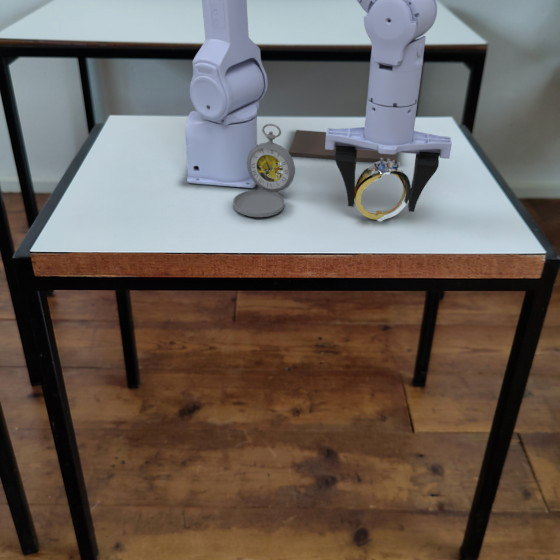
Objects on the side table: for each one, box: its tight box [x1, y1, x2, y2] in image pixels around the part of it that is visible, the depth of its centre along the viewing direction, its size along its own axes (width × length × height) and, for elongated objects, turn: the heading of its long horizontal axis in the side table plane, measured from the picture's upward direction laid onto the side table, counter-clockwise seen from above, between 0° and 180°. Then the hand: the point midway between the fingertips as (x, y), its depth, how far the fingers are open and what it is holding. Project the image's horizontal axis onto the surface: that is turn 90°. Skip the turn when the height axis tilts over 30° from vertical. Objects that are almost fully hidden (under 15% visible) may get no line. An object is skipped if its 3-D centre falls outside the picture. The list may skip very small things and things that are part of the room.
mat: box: [288, 129, 398, 165], centre depth 106 cm, size 16×9×1 cm, turn 82°
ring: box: [354, 158, 412, 222], centre depth 85 cm, size 7×3×8 cm, turn 95°
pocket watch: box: [232, 123, 296, 218], centre depth 87 cm, size 8×8×10 cm
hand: (380, 205), depth 86 cm, fingers closed on ring, 7 cm apart
